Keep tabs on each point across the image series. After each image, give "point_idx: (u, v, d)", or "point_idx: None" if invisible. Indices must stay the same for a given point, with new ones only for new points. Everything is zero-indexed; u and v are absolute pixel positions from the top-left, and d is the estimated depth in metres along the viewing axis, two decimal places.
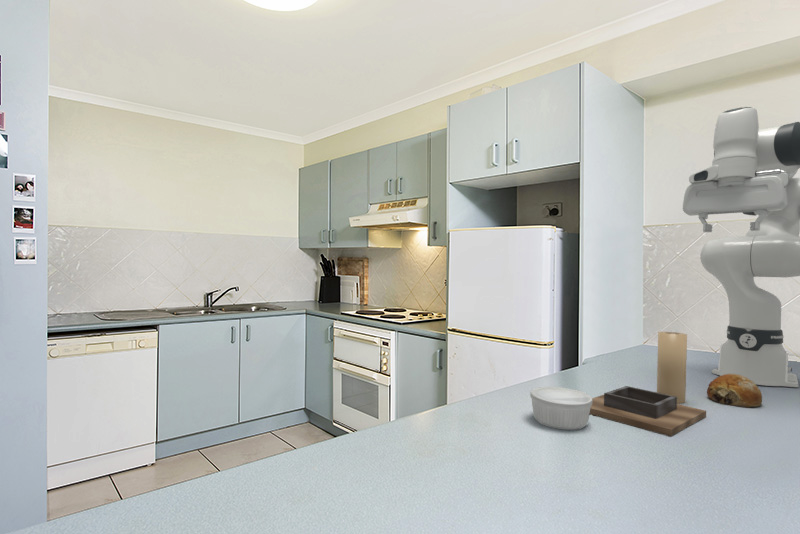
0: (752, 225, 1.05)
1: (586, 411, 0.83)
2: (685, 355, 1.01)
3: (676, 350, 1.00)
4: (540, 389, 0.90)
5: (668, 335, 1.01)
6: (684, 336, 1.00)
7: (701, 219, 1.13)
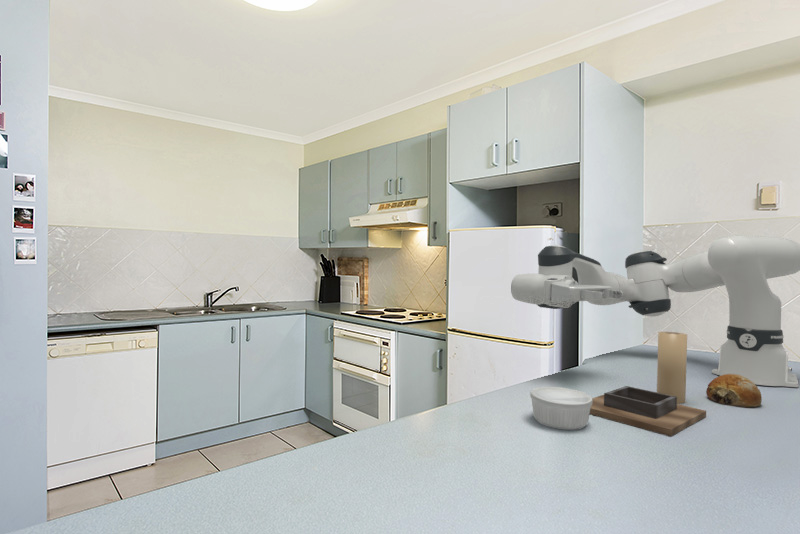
0: (617, 291, 1.18)
1: (586, 411, 0.83)
2: (685, 355, 1.01)
3: (676, 350, 1.00)
4: (540, 389, 0.90)
5: (668, 335, 1.01)
6: (684, 336, 1.00)
7: (588, 290, 1.13)
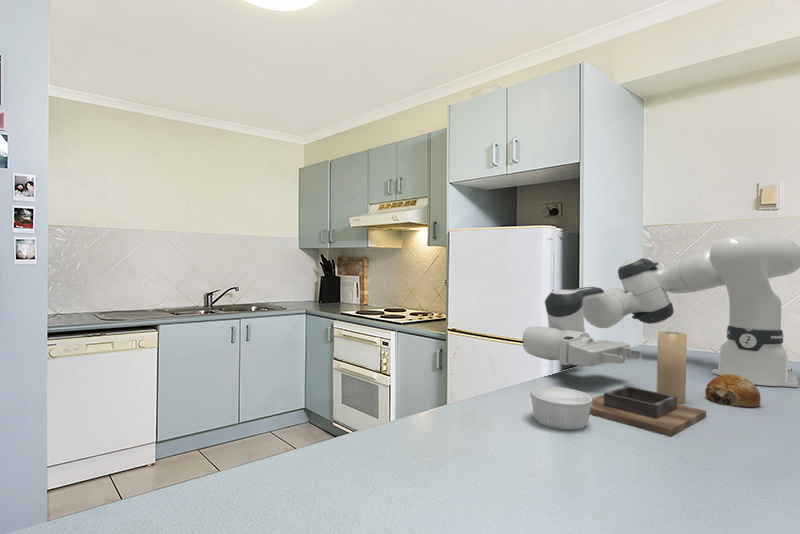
0: (636, 351, 1.13)
1: (586, 411, 0.83)
2: (685, 355, 1.01)
3: (675, 350, 1.00)
4: (540, 389, 0.90)
5: (668, 335, 1.01)
6: (684, 336, 1.00)
7: (608, 354, 1.08)
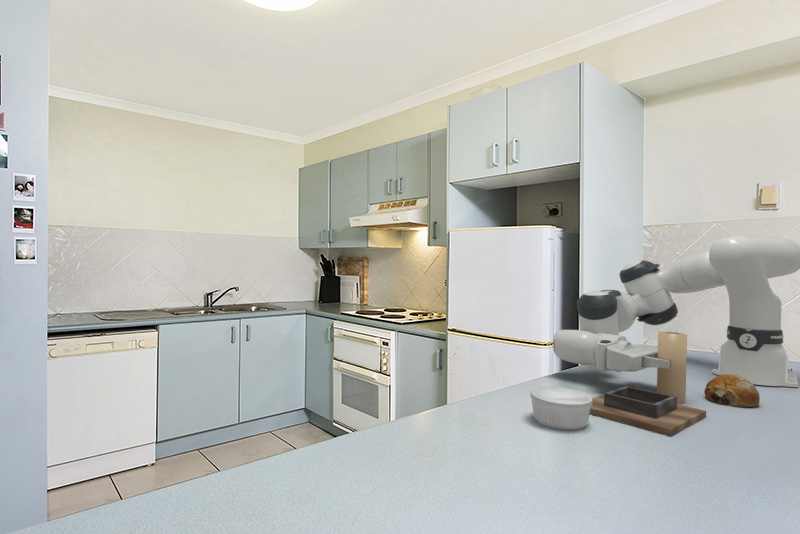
0: None
1: (586, 411, 0.83)
2: (685, 355, 1.01)
3: (676, 350, 1.00)
4: (540, 389, 0.90)
5: (668, 335, 1.01)
6: (684, 336, 1.00)
7: (653, 358, 1.02)
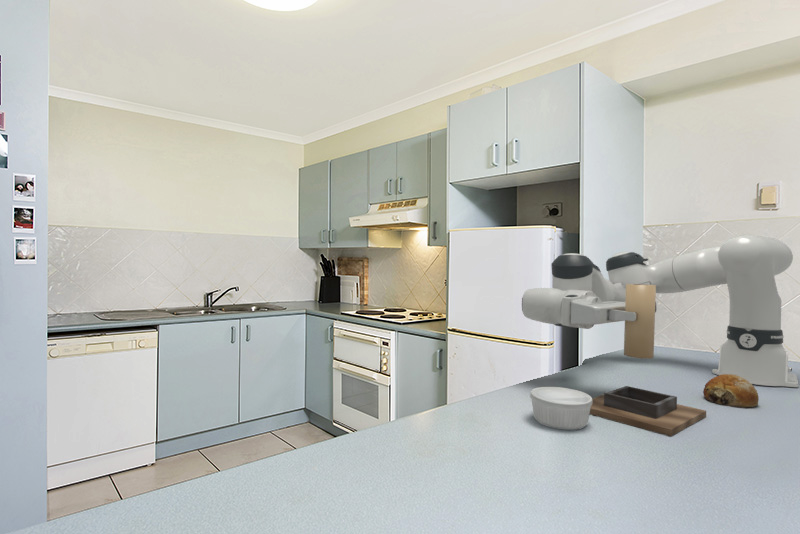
0: None
1: (586, 411, 0.83)
2: (653, 307, 0.94)
3: (643, 302, 0.94)
4: (540, 389, 0.90)
5: (635, 286, 0.95)
6: (652, 286, 0.94)
7: (619, 310, 0.95)
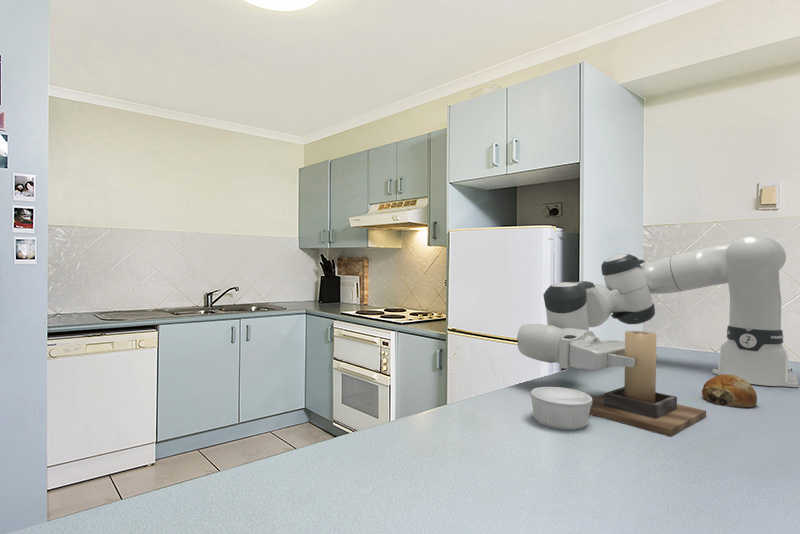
0: None
1: (586, 411, 0.83)
2: (654, 357, 0.90)
3: (643, 353, 0.90)
4: (540, 389, 0.90)
5: (635, 336, 0.91)
6: (653, 336, 0.90)
7: (617, 355, 0.91)
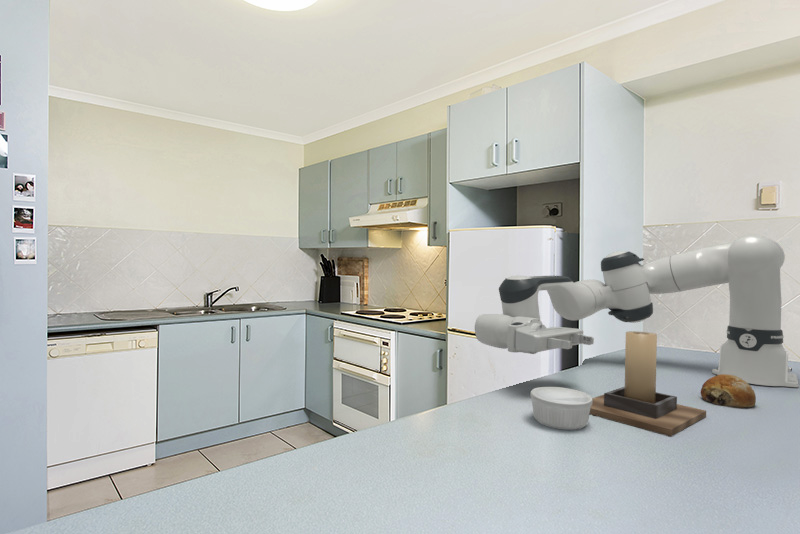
0: (587, 336, 1.07)
1: (586, 411, 0.83)
2: (654, 357, 0.91)
3: (644, 352, 0.90)
4: (540, 389, 0.90)
5: (636, 335, 0.91)
6: (653, 336, 0.90)
7: (555, 339, 1.01)
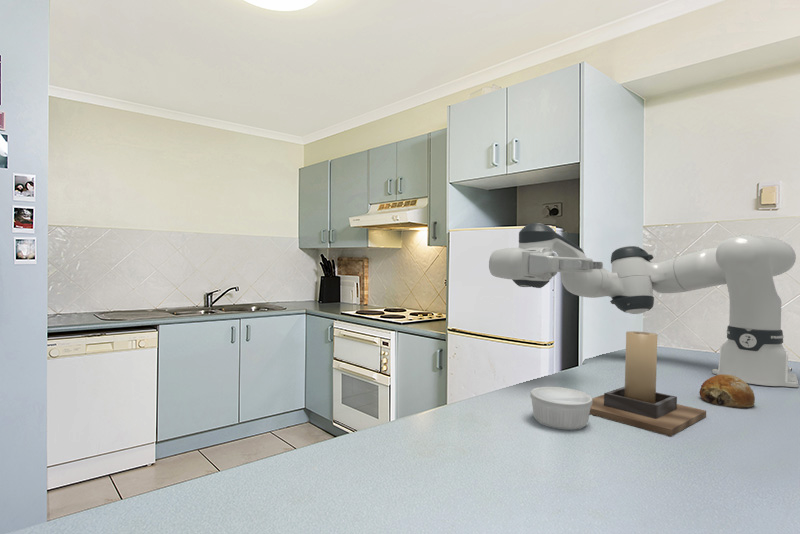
0: None
1: (586, 411, 0.83)
2: (655, 358, 0.91)
3: (644, 352, 0.90)
4: (540, 389, 0.90)
5: (636, 335, 0.91)
6: (654, 336, 0.90)
7: (567, 260, 1.08)
